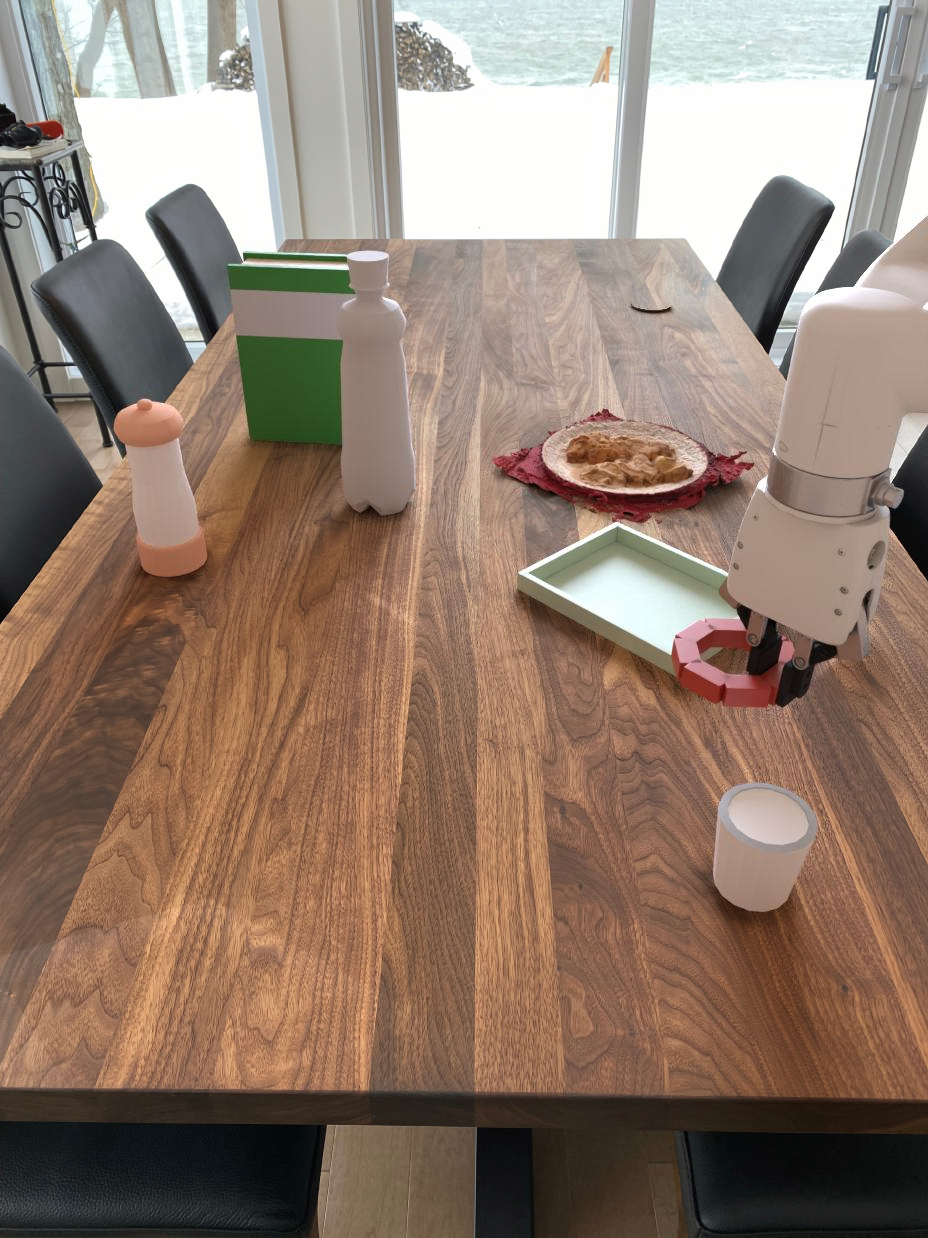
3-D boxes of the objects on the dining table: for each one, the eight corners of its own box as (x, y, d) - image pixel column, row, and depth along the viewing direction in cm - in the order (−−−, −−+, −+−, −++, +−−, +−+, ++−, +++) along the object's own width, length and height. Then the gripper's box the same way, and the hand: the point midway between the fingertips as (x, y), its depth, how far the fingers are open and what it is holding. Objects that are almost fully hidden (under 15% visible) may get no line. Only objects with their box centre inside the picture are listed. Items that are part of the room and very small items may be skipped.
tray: (775, 615, 102) (779, 595, 101) (679, 682, 93) (682, 661, 91) (614, 540, 115) (616, 521, 114) (516, 592, 106) (517, 572, 104)
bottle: (425, 491, 125) (420, 248, 108) (402, 524, 118) (393, 269, 101) (358, 482, 127) (343, 242, 110) (332, 514, 120) (312, 263, 103)
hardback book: (249, 439, 138) (226, 265, 125) (264, 419, 144) (244, 250, 131) (371, 446, 137) (362, 270, 123) (382, 425, 143) (373, 255, 129)
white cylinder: (730, 833, 77) (745, 767, 73) (813, 876, 73) (834, 810, 69) (687, 886, 72) (701, 819, 69) (774, 935, 69) (793, 868, 65)
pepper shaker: (138, 550, 113) (104, 392, 102) (202, 539, 115) (175, 383, 104) (144, 582, 107) (109, 418, 96) (211, 570, 109) (184, 408, 98)
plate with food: (604, 420, 145) (605, 398, 143) (753, 473, 129) (757, 449, 127) (489, 470, 132) (488, 446, 130) (638, 535, 116) (640, 510, 114)
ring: (817, 672, 79) (822, 654, 78) (750, 724, 74) (754, 705, 73) (717, 622, 85) (721, 605, 84) (649, 667, 79) (651, 649, 78)
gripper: (963, 502, 64) (892, 718, 74) (755, 430, 73) (717, 630, 84) (910, 541, 60) (842, 764, 70) (696, 458, 69) (663, 665, 80)
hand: (774, 689), depth 77 cm, fingers closed on ring, 2 cm apart
